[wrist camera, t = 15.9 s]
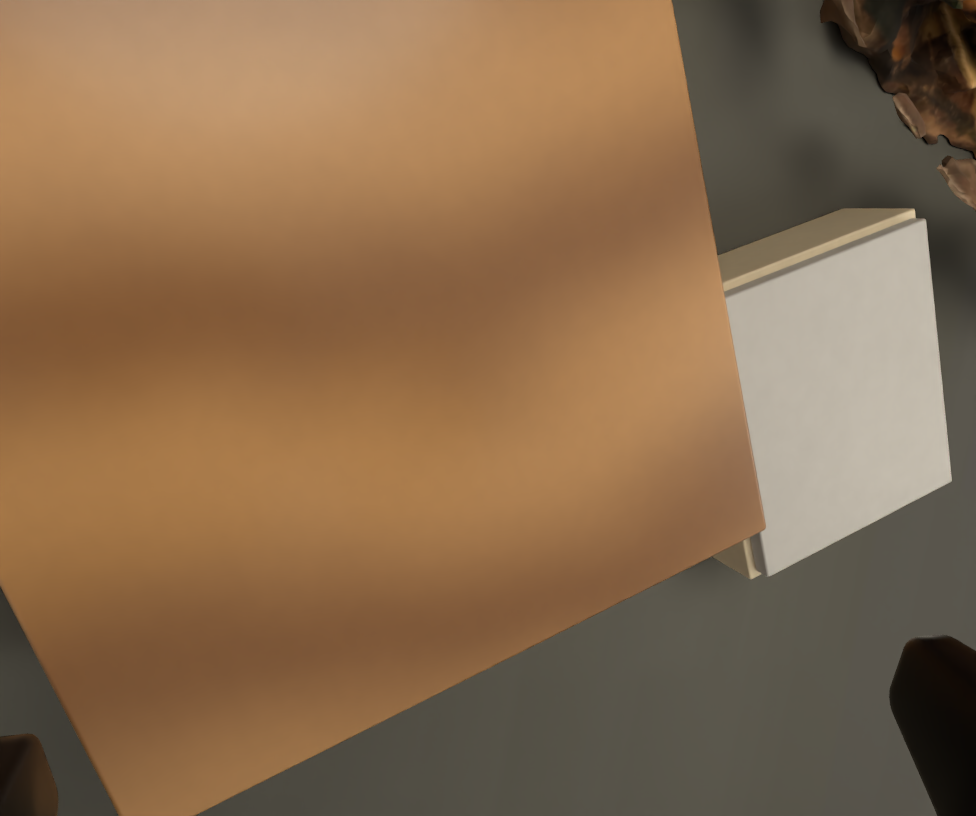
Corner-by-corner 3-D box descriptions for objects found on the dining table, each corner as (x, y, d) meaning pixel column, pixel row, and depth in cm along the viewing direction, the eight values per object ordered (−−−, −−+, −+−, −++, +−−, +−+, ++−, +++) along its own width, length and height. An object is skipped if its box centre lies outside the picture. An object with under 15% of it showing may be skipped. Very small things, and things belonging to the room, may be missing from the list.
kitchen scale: (694, 547, 25) (763, 587, 23) (638, 284, 23) (708, 295, 20) (882, 454, 28) (965, 481, 25) (850, 205, 25) (939, 205, 22)
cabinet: (-199, -42, 15) (-416, -213, 9) (448, -159, 19) (613, -338, 13) (127, 646, 20) (133, 848, 14) (595, 443, 23) (768, 530, 17)
